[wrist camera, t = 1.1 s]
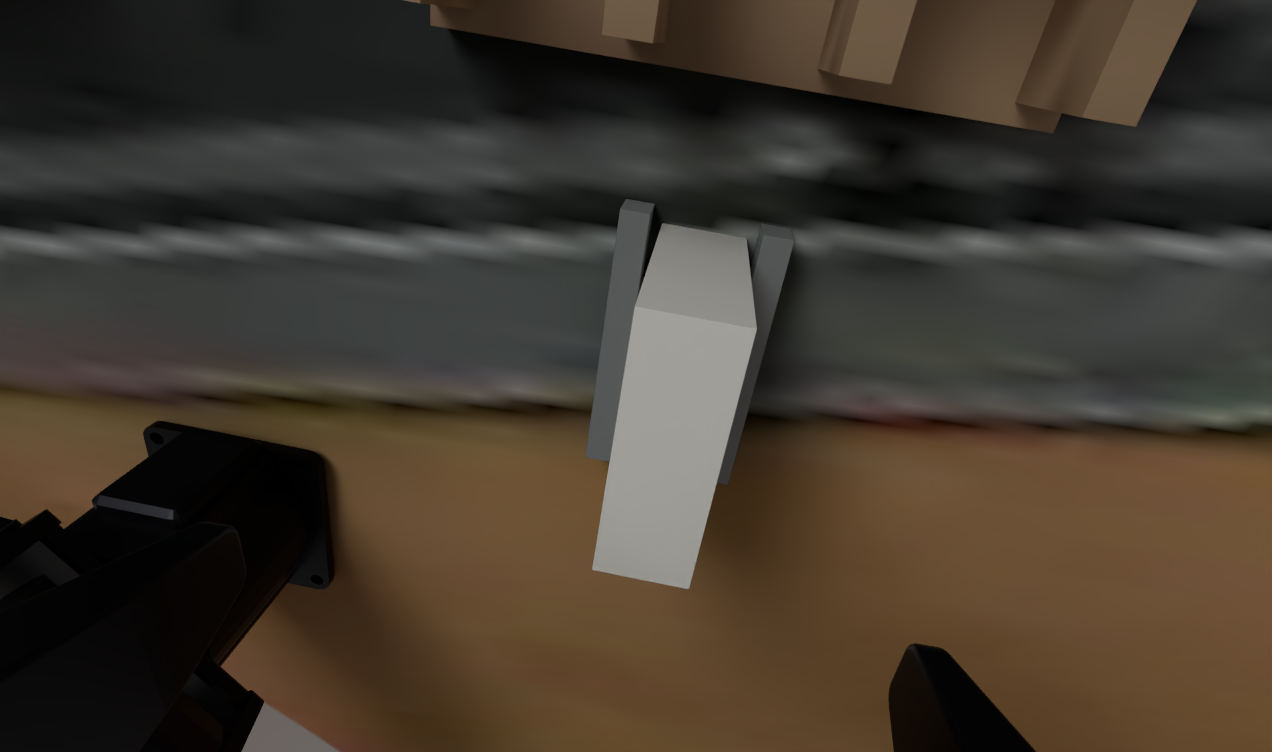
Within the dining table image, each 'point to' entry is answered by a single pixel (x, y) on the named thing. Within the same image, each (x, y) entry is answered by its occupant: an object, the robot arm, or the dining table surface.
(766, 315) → the rails
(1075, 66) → the rack
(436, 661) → the dining table surface
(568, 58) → the dining table surface
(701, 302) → the upright white panel
